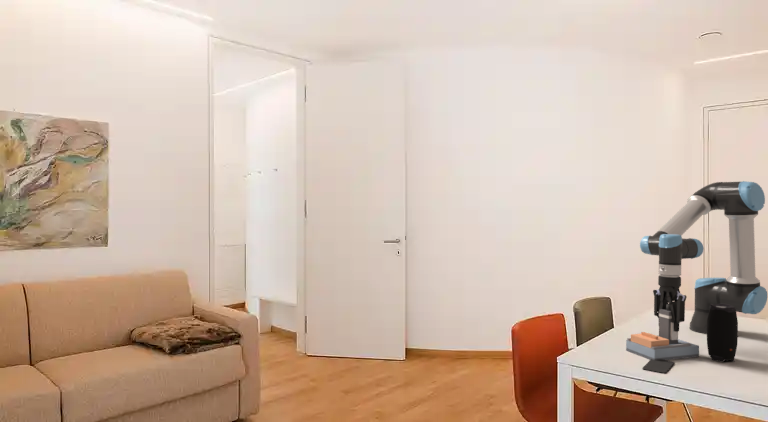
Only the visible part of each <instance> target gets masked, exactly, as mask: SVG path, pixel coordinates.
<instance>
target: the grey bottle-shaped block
mask: <svg viewBox="0 0 768 422" xmlns="http://www.w3.org/2000/svg"><path fill="white" fill-rule="evenodd" d="M671 321H672V314H671V308H670V304H669V303H668V304H666V309H660V310H659V318H658V336H659V337H662V338H665V339H669V344H678V340H670V333H671Z"/></svg>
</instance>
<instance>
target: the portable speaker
mask: <svg viewBox="0 0 768 422" xmlns="http://www.w3.org/2000/svg"><path fill="white" fill-rule="evenodd" d="M738 329H739V321H738V315H737V312H736V309H735V307H733V306H731V305H729V304H715V305H713V304H710V310H709V314H708V318H707V334H706V346H707V352H708V355H709V356H710V359H711V360H712V361H715V362H722V363H723V362H724V361H730V362H731V363H732V362H735V357H736V353H737V348H738V336H739V335H738V334H739V333H738V332H739V331H738Z"/></svg>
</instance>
